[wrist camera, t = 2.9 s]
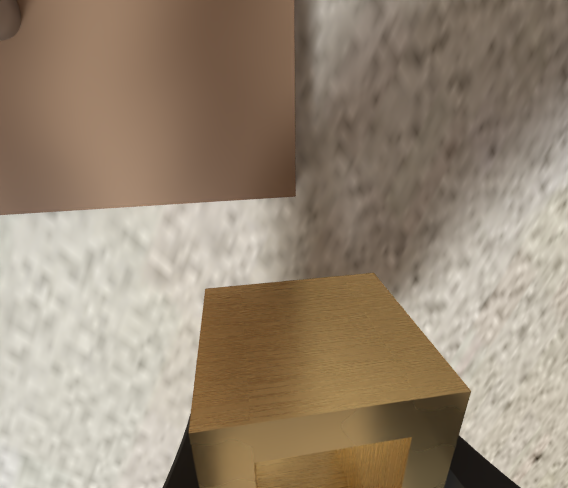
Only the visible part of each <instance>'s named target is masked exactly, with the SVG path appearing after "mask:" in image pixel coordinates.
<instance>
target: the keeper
mask: <svg viewBox="0 0 568 488" xmlns="http://www.w3.org/2000/svg"><path fill="white" fill-rule="evenodd" d="M294 196H296V188H295V36H294V0H0V215H8V214H24V213H40V212H56V211H72V210H88V209H104V208H120V207H135V206H151V205H167V204H183V203H199V202H215V201H231V200H247V199H263V198H279V197H294Z"/></svg>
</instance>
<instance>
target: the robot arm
mask: <svg viewBox="0 0 568 488" xmlns="http://www.w3.org/2000/svg"><path fill="white" fill-rule="evenodd" d="M190 417H191V414H190ZM190 417H189V421H188V424H187V427H186V430H185V433H184V436H183V439H182V442H181V444H180V447H179V450H178V452H177V455H176V457H175V460H174V462H173V465H172V467H171V469H170V472H169V474H168V476H167V479H166V481H165V483H164V486H163V488H199V483H198V478H197V473H196V468H195V463H194V458H193V453H192V448H191V443H190V438H189V425H190ZM444 488H520V487H519V486H518V485H516V484H515V483H514V482H513V481H512V480H510V479H509V478H508V477H507V476H505V475H504V474H503V473H502V472H501V471H499V470H498V469H497V468H496V467H495V466H493V465H492V464H491V463H490V462H489V461H487V460H486V459H485V458H484V457H483V456H482V455H480V454H479V453H478V452H477V451H476V450H475V449H474V448H472V447H471V446H470V445H469V444H468V443H467V442H466V441H465V440H464V439H463V438H461V437H460V436H458V439H457V443H456V446H455V450H454V454H453V457H452V461H451V464H450V468H449V471H448V475H447V478H446V482H445V486H444Z"/></svg>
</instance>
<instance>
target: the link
mask: <svg viewBox="0 0 568 488" xmlns="http://www.w3.org/2000/svg"><path fill="white" fill-rule="evenodd" d="M470 393H471V390H470V389H469V388H468V387H467V385H466V384H465V383H464V382H463V381H462V379H461V378H460V377H459V376H458V375H457V373H456V372H455V371H454V370H453V369H452V367H451V366H450V365H449V364H448V362H447V361H446V360H445V359H444V358H443V356H442V355H441V354H440V353H439V352H438V350H437V349H436V348H435V347H434V345H433V344H432V343H431V342H430V341H429V339H428V338H427V337H426V336H425V335H424V333H423V332H422V331H421V330H420V328H419V327H418V326H417V325H416V324H415V322H414V321H413V320H412V319H411V318H410V316H409V315H408V314H407V313H406V311H405V310H404V309H403V308H402V307H401V305H400V304H399V303H398V302H397V301H396V299H395V298H394V297H393V296H392V294H391V293H390V292H389V291H388V290H387V288H386V287H385V286H384V285H383V284H382V282H381V281H380V280H379V279H378V277H377V276H376V275H375V274H374V273H366V274H356V275H345V276H335V277H324V278H314V279H303V280H293V281H282V282H272V283H261V284H251V285H240V286H229V287H219V288H208V289H205V296H204V305H203V314H202V322H201V331H200V339H199V348H198V357H197V365H196V374H195V382H194V391H193V400H192V408H191V417H190V425H189V438H190V443H191V448H192V453H193V458H194V463H195V468H196V473H197V478H198V483H199V488H444V486H445V482H446V478H447V475H448V471H449V468H450V464H451V461H452V457H453V454H454V450H455V446H456V443H457V439H458V436H459V432H460V429H461V425H462V422H463V418H464V415H465V411H466V407H467V404H468V400H469V397H470Z"/></svg>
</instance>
